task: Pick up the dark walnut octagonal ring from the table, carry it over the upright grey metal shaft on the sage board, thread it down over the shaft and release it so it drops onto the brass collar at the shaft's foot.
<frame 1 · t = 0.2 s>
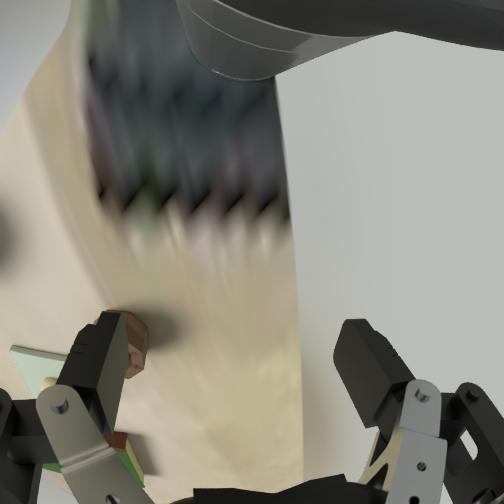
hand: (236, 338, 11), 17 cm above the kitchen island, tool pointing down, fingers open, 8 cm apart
hardcover book: (75, 444, 43), on the kitchen island
post: (59, 383, 34), on the kitchen island
ring: (121, 332, 31), on the kitchen island
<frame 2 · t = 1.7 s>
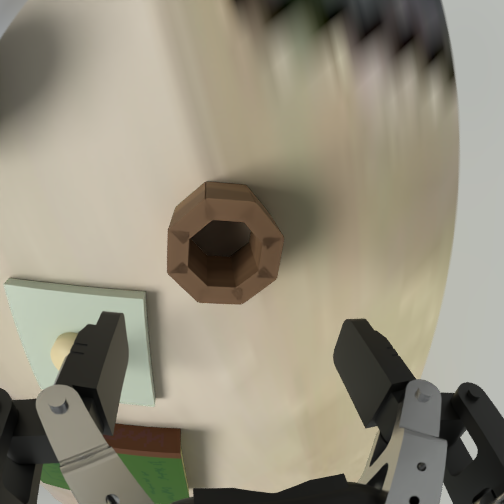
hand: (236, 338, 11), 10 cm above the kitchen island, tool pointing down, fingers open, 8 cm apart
hardcover book: (94, 451, 31), on the kitchen island
post: (82, 346, 22), on the kitchen island
ring: (221, 229, 20), on the kitchen island
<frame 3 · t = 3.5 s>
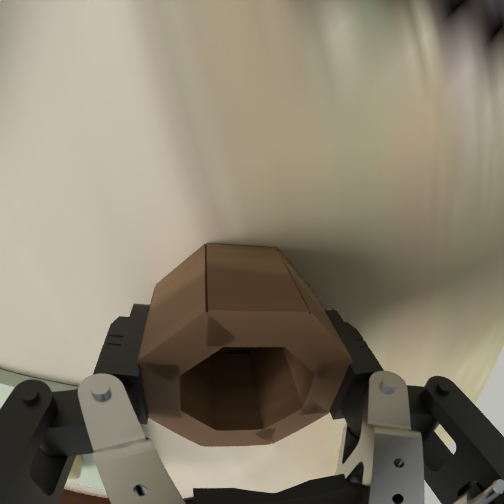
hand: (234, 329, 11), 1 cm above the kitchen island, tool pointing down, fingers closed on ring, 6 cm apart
post: (53, 436, 14), on the kitchen island
ring: (233, 317, 12), on the kitchen island, touching gripper
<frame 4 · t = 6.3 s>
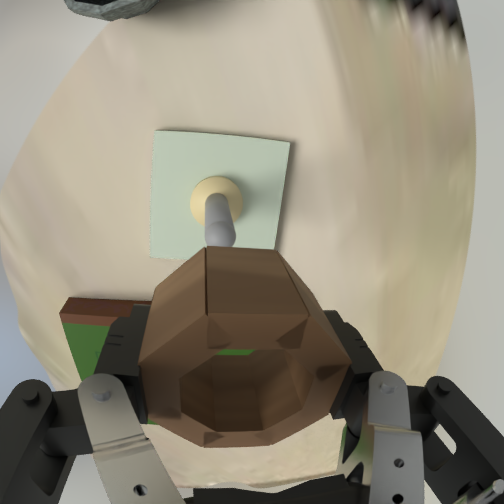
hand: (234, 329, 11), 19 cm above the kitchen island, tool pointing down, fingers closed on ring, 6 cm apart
hardcover book: (172, 359, 37), on the kitchen island
post: (215, 198, 29), on the kitchen island
ring: (233, 319, 12), point 19 cm above the kitchen island, touching gripper
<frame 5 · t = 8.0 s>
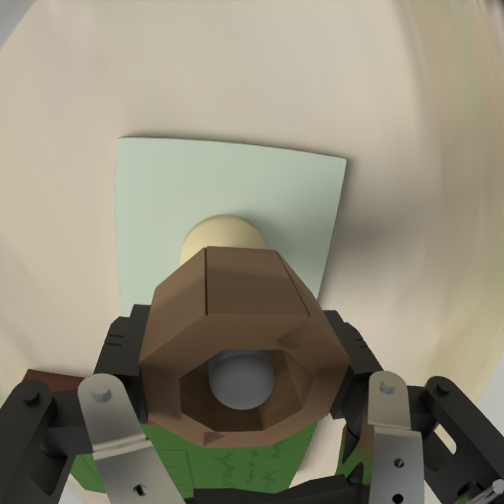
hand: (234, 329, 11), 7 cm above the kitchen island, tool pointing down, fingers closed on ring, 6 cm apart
hardcover book: (168, 437, 26), on the kitchen island
post: (222, 248, 18), on the kitchen island
ring: (233, 319, 12), point 7 cm above the kitchen island, touching gripper
when the fingers open (5 cm above the kitchen island, at t = 9.4 s): ring drops 2 cm, resting on post.
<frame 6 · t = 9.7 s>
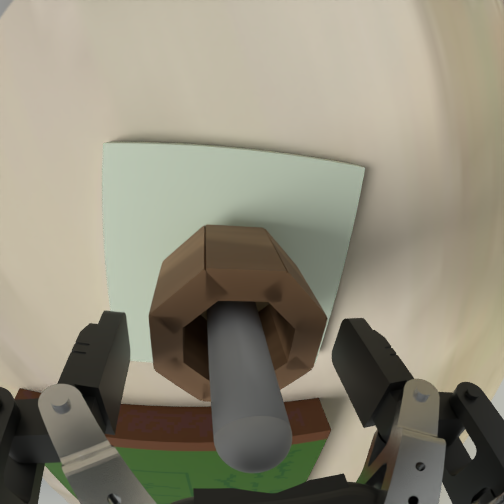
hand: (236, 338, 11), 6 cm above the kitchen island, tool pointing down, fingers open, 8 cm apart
hardcover book: (168, 456, 24), on the kitchen island
post: (225, 266, 16), on the kitchen island
ring: (229, 289, 14), point 2 cm above the kitchen island, touching post
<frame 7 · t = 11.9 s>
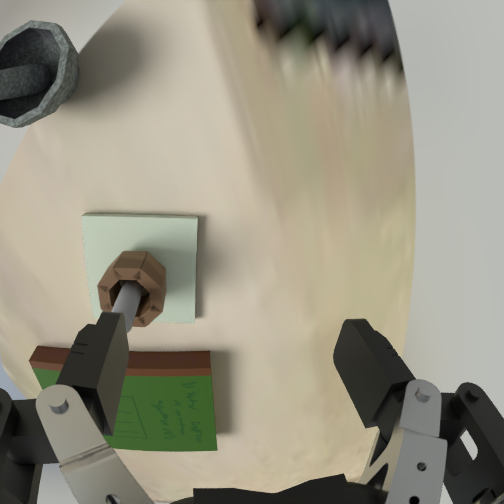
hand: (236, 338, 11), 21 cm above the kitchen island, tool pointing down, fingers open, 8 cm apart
hardcover book: (128, 396, 39), on the kitchen island
post: (140, 269, 32), on the kitchen island
mortar and pestle: (48, 83, 23), on the kitchen island
ring: (137, 279, 30), point 2 cm above the kitchen island, touching post
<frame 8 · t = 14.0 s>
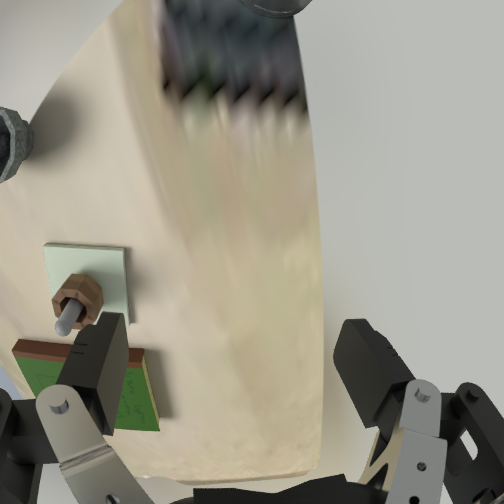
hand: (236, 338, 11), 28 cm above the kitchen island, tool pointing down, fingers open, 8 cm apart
hardcover book: (88, 380, 47), on the kitchen island
post: (87, 285, 39), on the kitchen island
mortar and pestle: (13, 142, 30), on the kitchen island
ring: (82, 293, 37), point 2 cm above the kitchen island, touching post
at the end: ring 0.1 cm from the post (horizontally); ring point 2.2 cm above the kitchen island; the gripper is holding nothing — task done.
